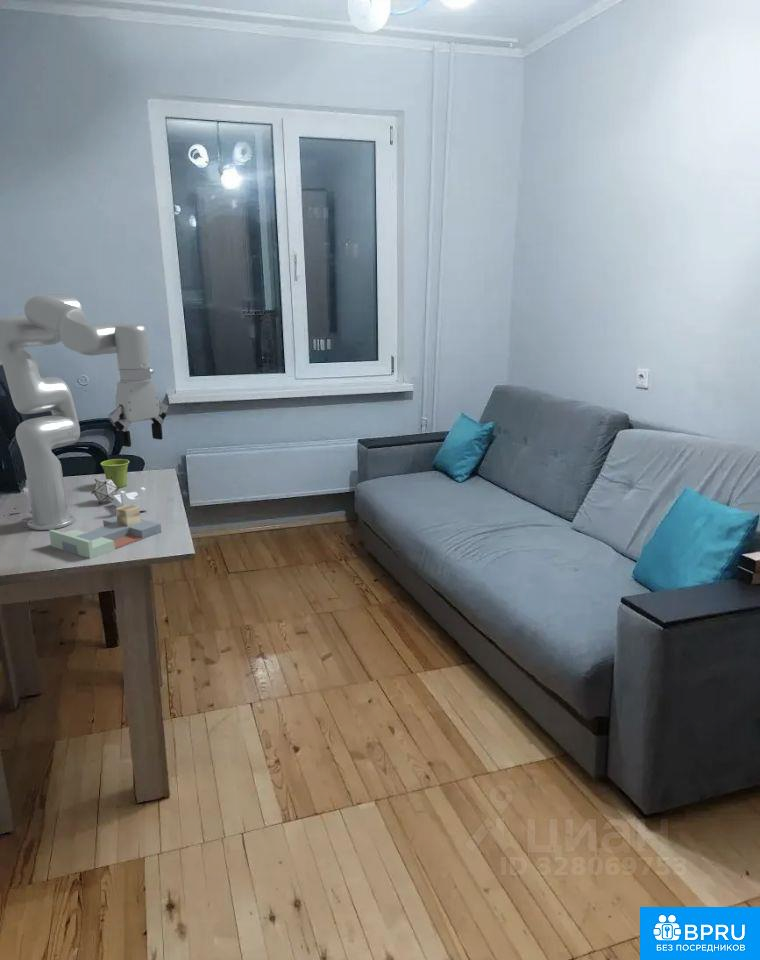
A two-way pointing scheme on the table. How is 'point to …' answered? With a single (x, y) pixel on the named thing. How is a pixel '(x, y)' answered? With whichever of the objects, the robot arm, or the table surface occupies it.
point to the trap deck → (103, 537)
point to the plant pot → (116, 471)
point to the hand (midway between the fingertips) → (142, 442)
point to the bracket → (132, 499)
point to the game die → (105, 490)
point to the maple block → (128, 515)
